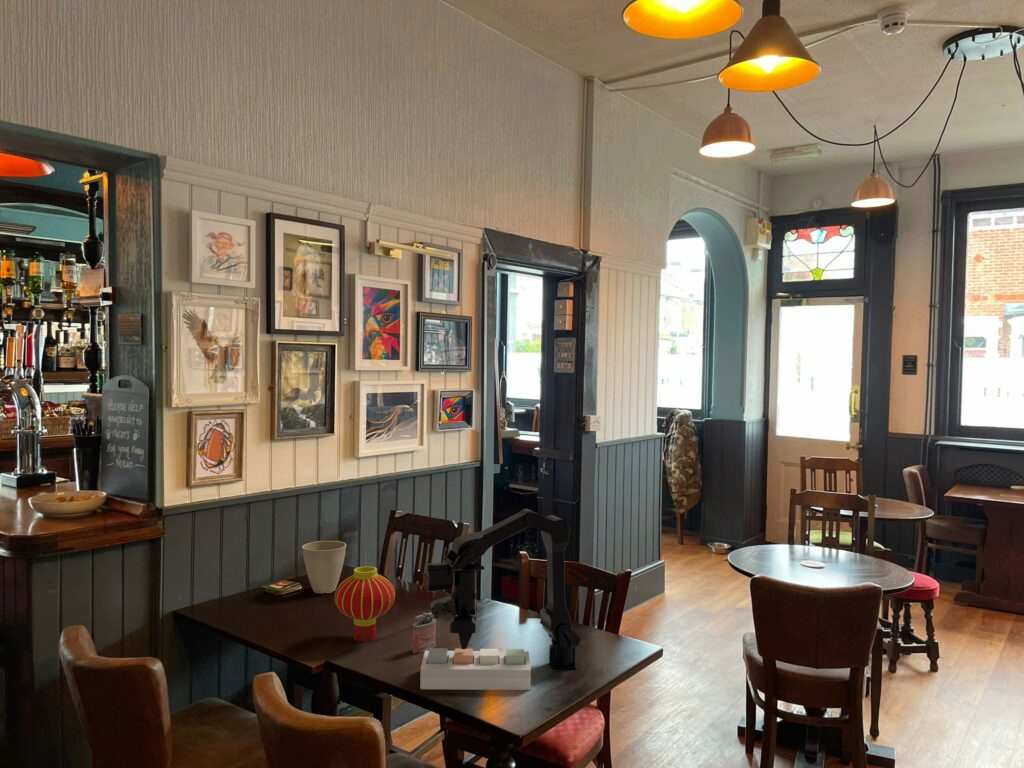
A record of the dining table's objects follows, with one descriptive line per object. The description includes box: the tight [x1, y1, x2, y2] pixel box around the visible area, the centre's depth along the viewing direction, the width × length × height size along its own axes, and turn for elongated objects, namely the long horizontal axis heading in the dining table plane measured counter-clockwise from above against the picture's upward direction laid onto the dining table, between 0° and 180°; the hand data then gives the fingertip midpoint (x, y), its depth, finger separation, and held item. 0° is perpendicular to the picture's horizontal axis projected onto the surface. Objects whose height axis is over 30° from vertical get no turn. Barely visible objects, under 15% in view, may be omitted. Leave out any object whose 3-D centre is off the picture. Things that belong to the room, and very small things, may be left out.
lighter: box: [411, 611, 437, 654], centre depth 211 cm, size 8×3×10 cm, turn 141°
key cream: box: [479, 648, 499, 664], centre depth 191 cm, size 5×5×2 cm
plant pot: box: [301, 540, 347, 595], centre depth 263 cm, size 15×15×16 cm
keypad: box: [419, 650, 532, 691], centre depth 191 cm, size 27×12×5 cm, turn 91°
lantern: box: [334, 553, 396, 643], centre depth 218 cm, size 17×17×30 cm
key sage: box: [505, 648, 525, 665], centre depth 191 cm, size 5×5×2 cm
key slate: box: [428, 647, 449, 664], centre depth 191 cm, size 5×5×2 cm
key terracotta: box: [454, 647, 474, 664], centre depth 191 cm, size 5×5×2 cm
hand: (463, 648), depth 191 cm, fingers closed
